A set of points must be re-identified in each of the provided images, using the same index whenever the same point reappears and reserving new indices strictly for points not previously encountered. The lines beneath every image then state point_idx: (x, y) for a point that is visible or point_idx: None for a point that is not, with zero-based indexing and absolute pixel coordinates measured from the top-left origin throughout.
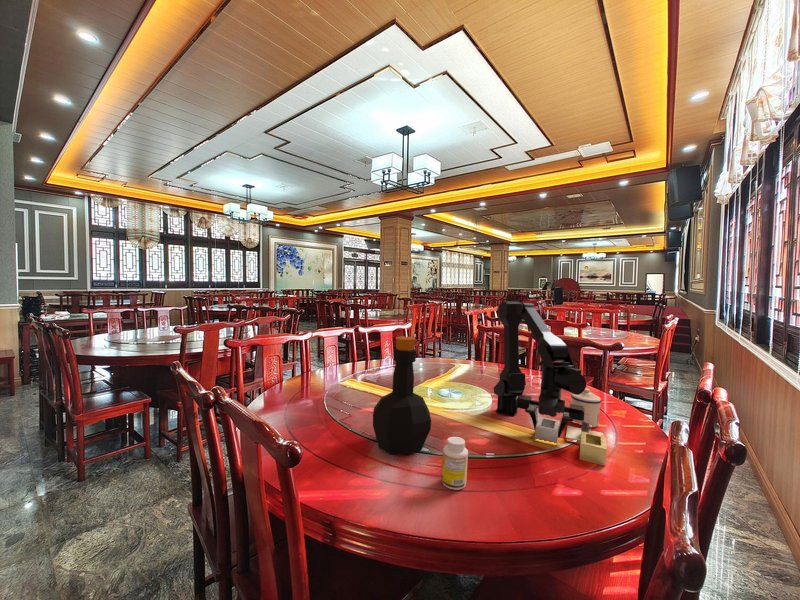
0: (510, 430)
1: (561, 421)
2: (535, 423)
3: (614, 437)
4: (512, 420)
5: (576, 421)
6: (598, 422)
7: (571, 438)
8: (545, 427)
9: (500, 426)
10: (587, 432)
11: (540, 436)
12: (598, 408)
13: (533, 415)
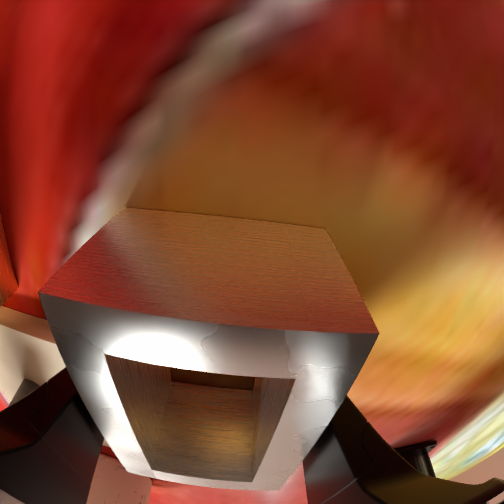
0: (455, 328)
1: (25, 443)
2: (336, 416)
3: (4, 397)
4: (394, 428)
5: (119, 470)
6: None
7: (55, 342)
8: (219, 354)
9: (483, 345)
10: (15, 394)
11: (279, 251)
12: None
13: (394, 488)
